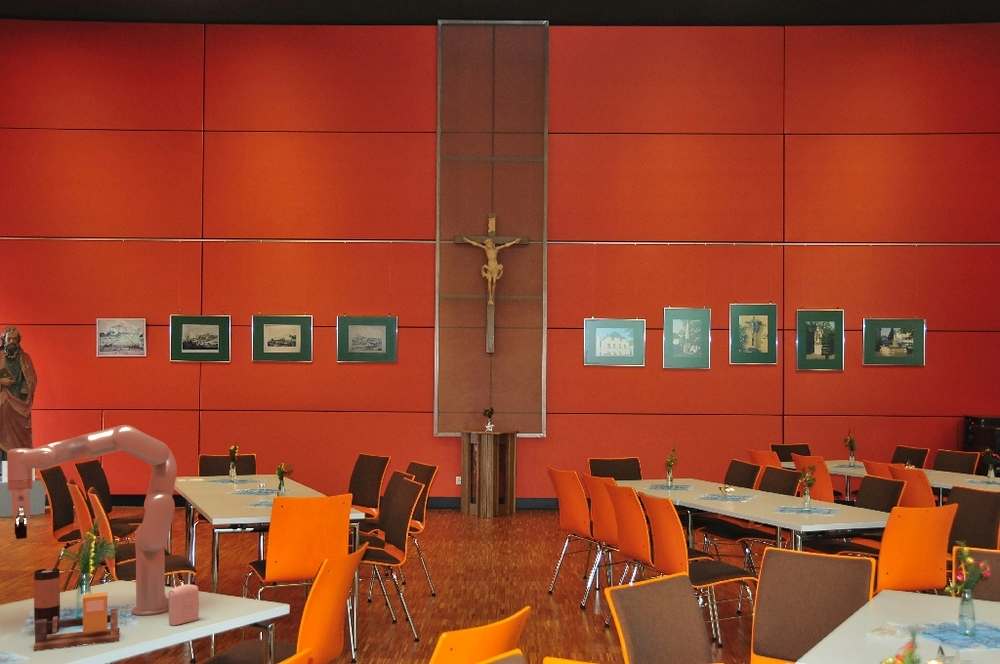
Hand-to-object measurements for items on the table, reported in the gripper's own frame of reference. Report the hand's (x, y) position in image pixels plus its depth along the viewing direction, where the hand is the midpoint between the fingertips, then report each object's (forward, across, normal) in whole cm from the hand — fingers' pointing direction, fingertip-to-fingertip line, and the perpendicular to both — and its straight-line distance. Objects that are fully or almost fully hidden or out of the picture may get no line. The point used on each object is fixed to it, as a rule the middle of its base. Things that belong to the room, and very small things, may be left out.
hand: (20, 536), depth 322 cm
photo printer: (+31, -25, -48) cm, 62 cm away
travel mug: (+30, -12, -7) cm, 33 cm away
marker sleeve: (+27, -31, -19) cm, 46 cm away
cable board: (+30, -31, -14) cm, 45 cm away
